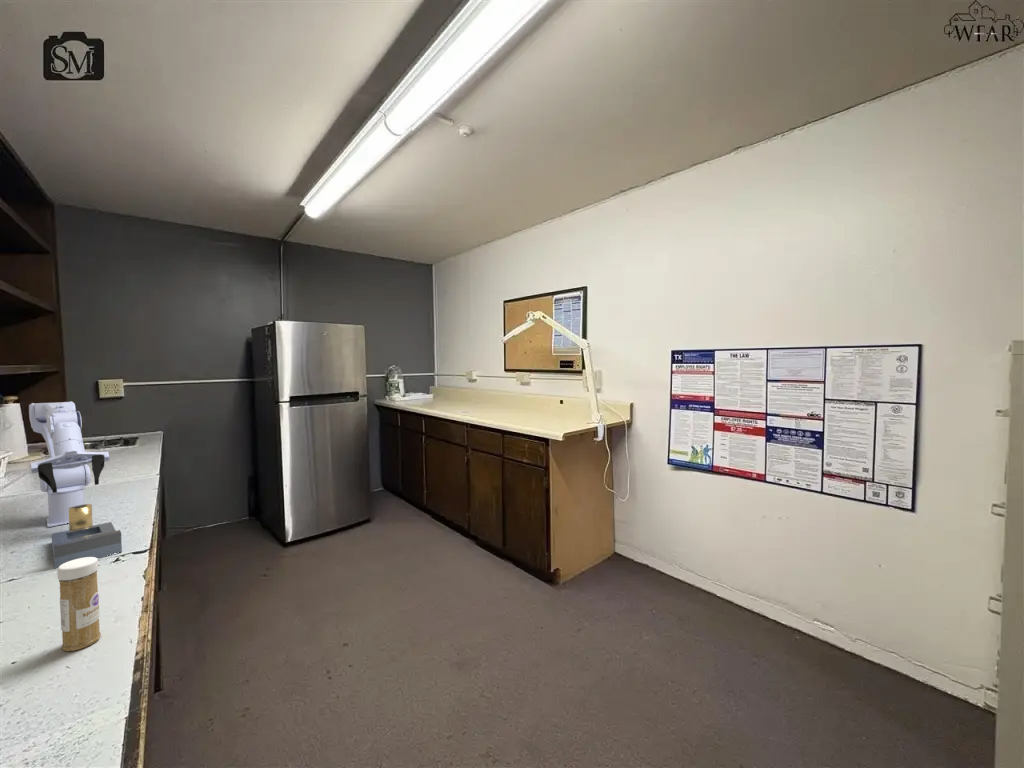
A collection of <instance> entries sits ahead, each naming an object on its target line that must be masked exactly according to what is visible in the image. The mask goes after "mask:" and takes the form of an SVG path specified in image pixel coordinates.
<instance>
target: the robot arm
mask: <svg viewBox="0 0 1024 768" xmlns="http://www.w3.org/2000/svg"><path fill="white" fill-rule="evenodd" d="M76 410H77V409H76V404H75V402H73V401H63V402H62V401H61V402H57V401H56V402H39V403H34V402H31V403H30V404H28V415H29V416H28V417H29V422H30V427H31V429H32V431H33V432H35V433H37V434H41V436H42V437H43V439H44V441H45V444H46V447H47V451H48V456H49V458H45V459H42V460H39V461H34V462H30V470H31V474H36V473H38V478H39V488H40V491H41V492H43V493H47V502H48V503H47V506H48V517H47V518H46V526H47V528H51V527H56V526H61V525H67V523H68V524H69V508H70V507H73V506H77V505H83V504H86V503H85V489H86V487H87V486H89V485H90V483H91V482H92V481H91V480H92V476H91V474H92V473H93V477H94V478H93V479H94V480H93V481H94V485H95V486H96V485H99V484H100V476H101V473H102V472H103V470H104V467H105V462H109V461H110V453H109V451H102V452H101V451H99V452H98V451H86V449H85V444H84V440H83V434H82V428H83V427H82V425H83V424H82V423H83V422H82V421H83V420H82V415H81V412H80V411H79V410H77V411H76ZM90 463H91V468H90V466H89V465H88V464H90ZM91 470H92V473H91Z"/></svg>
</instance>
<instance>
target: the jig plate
mask: <svg viewBox="0 0 1024 768" xmlns="http://www.w3.org/2000/svg"><path fill="white" fill-rule="evenodd" d="M51 546H52V548H51V549H52V555H53V565H54V566H55V567H54V570H56V568H57V569H58V567H59V566H60V565H62V564H64V563H66V562H68V561H71V560H75V559H79V558H84V557H95V558H98V559H100V558H101V557H102V558H105V557H104V556H106V557H108V556H107V555H110V554H114V553H118V552H122V553H123V549H122V548H123V546H122V531H121V529H118V530H116V529H115V526H114V524H113V523H112V521H109V522H104V523H100V524H94V525H93V526H89V527H84V528H79V529H74V530H69V529H68V530H65V531H60V532H55V533H51ZM118 554H119V553H118ZM114 555H115V554H114ZM110 556H111V555H110ZM102 558H101V559H102Z"/></svg>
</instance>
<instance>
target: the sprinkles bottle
mask: <svg viewBox="0 0 1024 768" xmlns="http://www.w3.org/2000/svg"><path fill="white" fill-rule="evenodd" d="M98 559H99V558H98ZM98 559H97V558H95V557H84V558H79V559H75V560H71V561H68V562H66V563H64V564H62V565H60V566H59V567H58V568H57V580H58V582H59V595H60V596H59V608H60V630H61V634H62V635H61V636H62V645H61V649H62V650H63V651H64V652H72V651H78V650H82V649H84V648H86V647H89V646H91V645H93V644H94V643H96V642H98V640H99V639H101V636H102V635H101V634H102V633H101V630H100V600H99V599H100V598H99V597H100V596H99V589H98V569H99V560H98Z"/></svg>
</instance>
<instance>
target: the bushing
mask: <svg viewBox="0 0 1024 768" xmlns="http://www.w3.org/2000/svg"><path fill="white" fill-rule="evenodd" d="M92 506H93V504H92V503H85V504H83V505H77V506H73V507H70V508H69V523H68V528H69V529H68V531H69V530H74V529H79V528H84V527H89V526H94V525H93V507H92Z"/></svg>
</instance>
